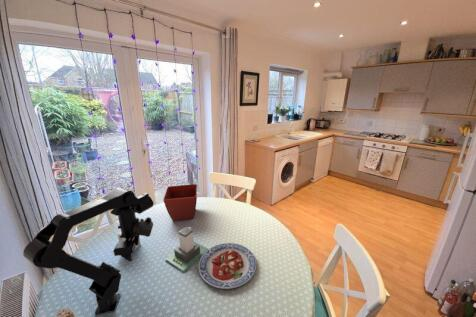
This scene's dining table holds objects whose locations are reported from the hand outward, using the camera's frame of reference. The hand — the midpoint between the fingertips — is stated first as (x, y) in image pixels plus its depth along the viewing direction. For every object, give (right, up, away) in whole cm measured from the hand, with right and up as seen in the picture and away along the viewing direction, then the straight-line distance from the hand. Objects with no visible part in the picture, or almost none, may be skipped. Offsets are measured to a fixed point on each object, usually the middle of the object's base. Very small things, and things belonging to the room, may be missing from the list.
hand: (133, 252), depth 83 cm
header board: (+18, -9, +16) cm, 25 cm away
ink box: (-12, -8, +20) cm, 25 cm away
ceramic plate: (+37, -11, +10) cm, 40 cm away
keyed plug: (+18, -8, +16) cm, 25 cm away
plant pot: (+7, +2, +50) cm, 50 cm away
